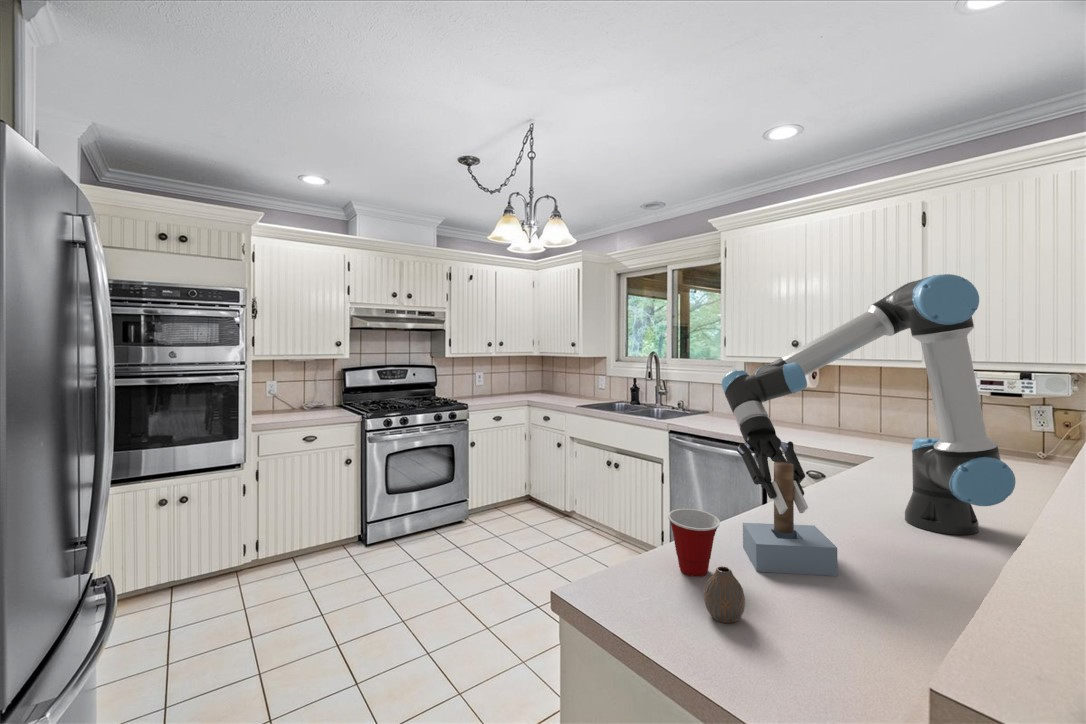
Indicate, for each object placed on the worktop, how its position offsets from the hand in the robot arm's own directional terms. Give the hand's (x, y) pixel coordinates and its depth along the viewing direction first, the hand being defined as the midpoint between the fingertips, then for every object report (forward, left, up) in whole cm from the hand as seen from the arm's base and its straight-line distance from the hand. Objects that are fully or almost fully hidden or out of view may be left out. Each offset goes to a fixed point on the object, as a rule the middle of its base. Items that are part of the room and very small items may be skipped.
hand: (793, 510), depth 106 cm
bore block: (0, -4, -13) cm, 13 cm away
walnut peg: (+1, -4, -6) cm, 7 cm away
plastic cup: (+21, +4, -13) cm, 25 cm away
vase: (+18, +22, -13) cm, 32 cm away
